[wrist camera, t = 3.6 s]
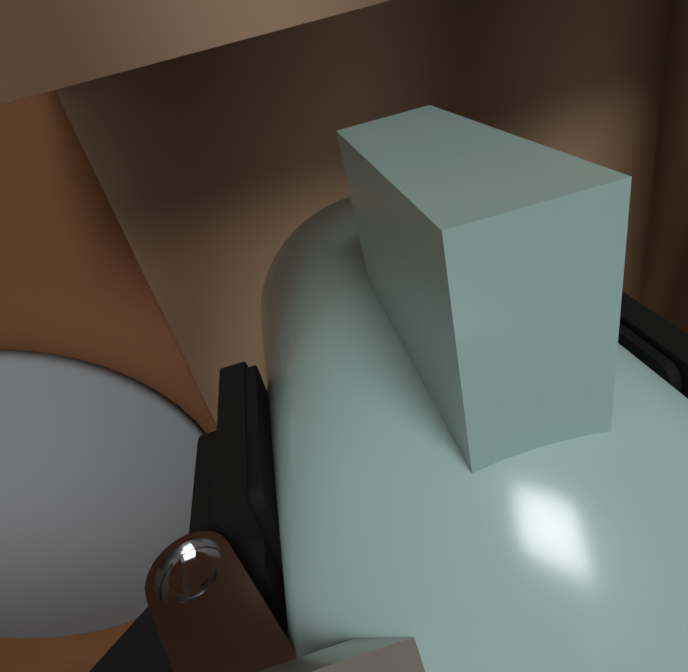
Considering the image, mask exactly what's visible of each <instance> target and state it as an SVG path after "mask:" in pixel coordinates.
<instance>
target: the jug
mask: <svg viewBox="0 0 688 672" xmlns="http://www.w3.org/2000/svg"><path fill="white" fill-rule="evenodd" d="M336 132H337V137H338V142H339V146H340V151H341V155H342V160H343V164H344V169H345V174H346V178H347V183H348V187H349V192H350V196H351V197H348V198H345V199H342V200H339V201H337V202H335V203H333V204H331V205H329V206H327V207H325V208H323V209H321V210H320V211H318V212H317V213H315V214H314V215H312V216H311V217H310V218H308V219H307V220H306V221H305V222H304V223H302V224H301V225H300V226H299V227H298V228H297V229H296V230H295V231H294V232H293V233H292V234H291V235H290V236H289V237H288V239H287V240H286V241H285V242H284V243H283V245H282V246H281V248H280V249H279V251H278V252H277V254H276V255H275V257H274V259H273V261H272V263H271V266H270V268H269V270H268V272H267V276H266V279H265V282H264V285H263V291H262V296H261V324H262V336H263V347H264V359H265V370H266V382H267V393H268V405H269V416H270V428H271V439H272V451H273V462H274V474H275V485H276V497H277V508H278V520H279V531H280V543H281V554H282V566H283V577H284V589H285V600H286V612H287V623H288V635H289V642H290V644H291V646H292V647H293V649H294V650H295V652H296V657H297V658H299V657H302V656H305V655H308V654H311V653H314V652H317V651H320V650H323V649H326V648H328V647H331V646H334V645H337V644H340V643H343V642H346V641H349V640H352V639H358V638H386V637H414V638H415V641H416V645H417V648H418V651H419V654H420V657H421V660H422V663H423V666H424V669H425V672H688V398H686V397H685V396H684V395H683V394H681V393H680V392H679V391H678V390H676V389H675V388H674V387H673V386H671V385H670V384H669V383H668V382H666V381H665V380H664V379H663V378H661V377H660V376H659V375H658V374H656V373H655V372H654V371H653V370H651V369H650V368H649V367H648V366H646V365H645V364H644V363H643V362H641V361H640V360H639V359H638V358H636V357H635V356H634V355H633V354H632V353H630V352H629V351H628V350H627V349H625V348H624V347H623V346H622V345H620V344H619V343H618V337H619V325H620V313H621V301H622V288H623V276H624V264H625V252H626V240H627V228H628V216H629V204H630V192H631V180H632V176H629V175H626V174H623V173H620V172H617V171H615V170H612V169H609V168H606V167H603V166H600V165H598V164H595V163H592V162H589V161H586V160H584V159H581V158H578V157H575V156H572V155H569V154H567V153H564V152H561V151H558V150H555V149H553V148H550V147H547V146H544V145H541V144H538V143H536V142H533V141H530V140H527V139H524V138H521V137H519V136H516V135H513V134H510V133H507V132H505V131H502V130H499V129H496V128H493V127H490V126H488V125H485V124H482V123H479V122H476V121H474V120H471V119H468V118H465V117H462V116H459V115H457V114H454V113H451V112H448V111H445V110H442V109H440V108H437V107H434V106H431V105H428V106H424V107H421V108H417V109H413V110H410V111H406V112H402V113H399V114H395V115H392V116H388V117H384V118H381V119H377V120H373V121H370V122H366V123H362V124H359V125H355V126H352V127H348V128H344V129H341V130H337V131H336Z"/></svg>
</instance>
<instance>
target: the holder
mask: <svg viewBox="0 0 688 672" xmlns="http://www.w3.org/2000/svg"><path fill="white" fill-rule="evenodd" d="M53 90H55V91H56V93H57V96H58V98H59V100H60V102H61V104H62V106H63V108H64V110H65V112H66V114H67V116H68V118H69V120H70V122H71V125H72V127H73V129H74V131H75V133H76V135H77V137H78V139H79V141H80V143H81V145H82V147H83V149H84V151H85V154H86V156H87V158H88V160H89V162H90V164H91V166H92V168H93V170H94V172H95V174H96V176H97V178H98V181H99V183H100V185H101V187H102V189H103V191H104V193H105V195H106V197H107V199H108V201H109V203H110V205H111V207H112V210H113V212H114V214H115V216H116V218H117V220H118V222H119V224H120V226H121V228H122V230H123V232H124V234H125V236H126V239H127V241H128V243H129V245H130V247H131V249H132V251H133V253H134V255H135V257H136V259H137V261H138V263H139V265H140V268H141V270H142V272H143V274H144V276H145V278H146V280H147V282H148V284H149V286H150V288H151V290H152V292H153V295H154V297H155V299H156V301H157V303H158V305H159V307H160V309H161V311H162V313H163V315H164V317H165V319H166V321H167V324H168V326H169V328H170V330H171V332H172V334H173V336H174V338H175V340H176V342H177V344H178V346H179V348H180V350H181V353H182V355H183V357H184V359H185V361H186V363H187V365H188V367H189V369H190V371H191V373H192V375H193V377H194V379H195V382H196V384H197V386H198V388H199V390H200V392H201V394H202V396H203V398H204V400H205V402H206V404H207V406H208V408H209V411H210V413H211V415H212V417H213V419H214V421H215V423H216V425H217V414H218V394H219V374H220V369H221V368H224V367H227V366H231V365H234V364H237V363H241V362H244V361H245V362H246V363H247V365H248V367H250V366H254V365H256V366H257V367H258V370H259V372H260V374H261V377H262V380H263V382H264V385H265V387H266V390H267V382H266V370H265V359H264V347H263V336H262V324H261V296H262V291H263V285H264V282H265V279H266V276H267V272H268V270H269V268H270V266H271V263H272V261H273V259H274V257H275V255H276V254H277V252H278V251H279V249H280V248H281V246H282V245H283V243H284V242H285V241H286V240H287V239H288V237H289V236H290V235H291V234H292V233H293V232H294V231H295V230H296V229H297V228H298V227H299V226H300V225H301V224H302V223H304V222H305V221H306V220H307V219H308V218H310V217H311V216H312V215H314V214H315V213H317V212H318V211H320V210H321V209H323V208H325V207H327V206H329V205H331V204H333V203H335V202H337V201H339V200H342V199H345V198H348V197H351V196H350V192H349V187H348V183H347V178H346V174H345V169H344V164H343V160H342V155H341V151H340V146H339V142H338V137H337V132H336V131H337V130H341V129H344V128H348V127H352V126H355V125H359V124H362V123H366V122H370V121H373V120H377V119H381V118H384V117H388V116H392V115H395V114H399V113H402V112H406V111H410V110H413V109H417V108H421V107H424V106H428V105H431V106H434V107H437V108H440V109H442V110H445V111H448V112H451V113H454V114H457V115H459V116H462V117H465V118H468V119H471V120H474V121H476V122H479V123H482V124H485V125H488V126H490V127H493V128H496V129H499V130H502V131H505V132H507V133H510V134H513V135H516V136H519V137H521V138H524V139H527V140H530V141H533V142H536V143H538V144H541V145H544V146H547V147H550V148H553V149H555V150H558V151H561V152H564V153H567V154H569V155H572V156H575V157H578V158H581V159H584V160H586V161H589V162H592V163H595V164H598V165H600V166H603V167H606V168H609V169H612V170H615V171H617V172H620V173H623V174H626V175H629V176H632V180H631V192H630V204H629V216H628V228H627V240H626V252H625V264H624V276H623V288H622V291H623V292H625V293H626V294H628V295H629V296H631V297H632V298H634V299H635V300H637V301H638V302H640V303H641V304H643V305H644V306H646V307H647V308H649V309H650V310H652V311H653V312H655V313H656V314H658V315H659V316H661V317H662V318H664V319H665V320H667V321H668V322H670V323H671V324H673V325H675V326H676V327H678V328H679V329H681V330H682V331H684V332H685V333H687V334H688V0H0V104H4V103H8V102H12V101H15V100H19V99H23V98H27V97H30V96H34V95H38V94H42V93H45V92H49V91H53ZM288 641H289V639H288Z"/></svg>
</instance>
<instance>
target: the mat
mask: <svg viewBox="0 0 688 672" xmlns="http://www.w3.org/2000/svg"><path fill="white" fill-rule="evenodd" d="M204 434H206V433H205V432H204V430H203V429H202V428H201V427H200V426H199V424H198V423H197V422H196V421H195V420H194V419H193V418H191V417H190V416H189V415H188V414H187V413H186V412H185V411H184V410H183V409H181V408H180V407H179V406H178V405H176V404H175V403H174V402H172V401H171V400H169V399H168V398H166V397H165V396H164V395H162V394H161V393H159V392H158V391H156V390H154V389H152V388H150V387H148V386H146V385H145V384H143V383H141V382H139V381H137V380H135V379H133V378H131V377H128V376H126V375H123V374H121V373H118V372H116V371H114V370H111V369H109V368H106V367H103V366H99V365H96V364H92V363H89V362H86V361H82V360H79V359H74V358H69V357H64V356H59V355H53V354H48V353H40V352H29V351H18V350H0V637H9V638H42V637H58V636H67V635H76V634H82V633H87V632H92V631H98V630H102V629H106V628H109V627H113V626H117V625H120V624H123V623H126V622H129V621H132V620H135V619H137V618H138V617H139V616H140V615H141V614H142V613H143V611H144V610H145V609H146V608H147V607H148V603H147V600H146V595H145V588H144V587H145V583H146V578H147V574H148V572H149V570H150V568H151V566H152V564H153V562H154V561H155V560H156V558H157V557H158V556H159V555H160V553H161V552H162V551H163V550H164V549H165V548H167V547H168V546H169V545H170V544H171V543H173V542H174V541H175V540H177V539H179V538H181V537H183V536H185V535H187V534H189V527H190V516H191V506H192V495H193V485H194V474H195V464H196V454H197V443H198V439H199V437H200V436H201V435H204Z"/></svg>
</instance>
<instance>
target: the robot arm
mask: <svg viewBox="0 0 688 672" xmlns="http://www.w3.org/2000/svg"><path fill="white" fill-rule="evenodd" d="M618 343H619V344H620V345H622V346H623V347H624V348H625V349H627V350H628V351H629V352H630V353H632V354H633V355H634V356H635V357H636V358H638V359H639V360H640V361H641V362H643V363H644V364H645V365H646V366H648V367H649V368H650V369H651V370H653V371H654V372H655V373H656V374H658V375H659V376H660V377H661V378H663V379H664V380H665V381H666V382H668V383H669V384H670V385H671V386H673V387H674V388H675V389H676V390H678V391H679V392H680V393H681V394H683V395H684V396H685V397H686V398H688V334H687V333H685V332H684V331H682V330H681V329H679V328H678V327H676V326H675V325H673V324H671V323H670V322H668V321H667V320H665V319H664V318H662V317H661V316H659V315H658V314H656V313H655V312H653V311H652V310H650V309H649V308H647V307H646V306H644V305H643V304H641V303H640V302H638V301H637V300H635V299H634V298H632V297H631V296H629V295H628V294H626V293H625V292H623V291H622V301H621V313H620V325H619V337H618ZM144 588H145V595H146V600H147V603H148V607H147V608H146V609H145V610H144V611H143V613H142V614H141V615H140V616H139V617H138V618H137V619H136V620H135V621H134V623H133V624H132V625H131V626H130V627H129V628H128V629H127V630H126V632H125V633H124V634H123V635H122V636H121V637H120V638H119V639H118V640H117V642H116V643H115V644H114V645H113V646H112V647H111V648H110V649H109V650H108V652H107V653H106V654H105V655H104V656H103V657H102V658H101V659H100V660H99V662H98V663H97V664H96V665H95V666H94V667H93V668H92V669H91V671H90V672H425V669H424V666H423V663H422V660H421V657H420V654H419V651H418V648H417V645H416V641H415V638H414V637H386V638H358V639H352V640H349V641H346V642H343V643H340V644H337V645H334V646H331V647H328V648H326V649H323V650H320V651H317V652H314V653H311V654H308V655H305V656H302V657H299V658H297V657H296V652H295V650H294V649H293V647H292V646H291V644H290V642H289V641H288V639H289V635H288V623H287V612H286V600H285V589H284V577H283V566H282V554H281V543H280V531H279V520H278V508H277V497H276V485H275V474H274V462H273V451H272V439H271V428H270V416H269V405H268V393H267V390H266V387H265V385H264V382H263V380H262V377H261V374H260V372H259V370H258V367H257V366H256V365H254V366H250V367H248V365H247V363H246V362H245V361H244V362H241V363H237V364H234V365H231V366H227V367H224V368H221V369H220V374H219V394H218V414H217V431H214V432H211V433H207V434H204V435H201V436H200V437H199V439H198V443H197V454H196V464H195V474H194V485H193V495H192V506H191V516H190V527H189V534H187V535H185V536H183V537H181V538H179V539H177V540H175V541H174V542H173V543H171V544H170V545H169V546H168V547H167V548H165V549H164V550H163V551H162V552H161V553H160V555H159V556H158V557H157V558H156V560H155V561H154V562H153V564H152V566H151V568H150V570H149V572H148V574H147V578H146V583H145V587H144Z"/></svg>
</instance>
